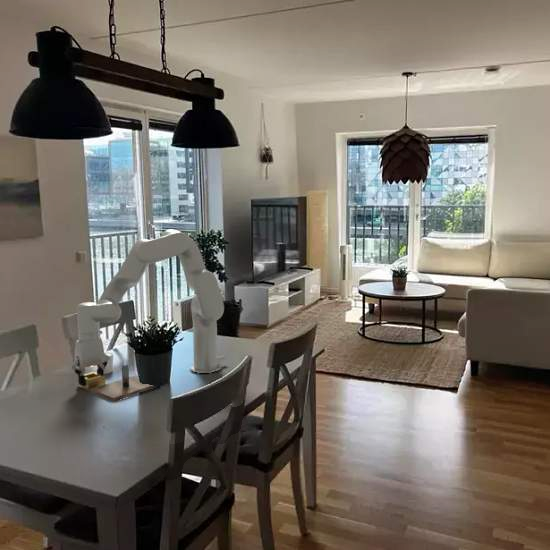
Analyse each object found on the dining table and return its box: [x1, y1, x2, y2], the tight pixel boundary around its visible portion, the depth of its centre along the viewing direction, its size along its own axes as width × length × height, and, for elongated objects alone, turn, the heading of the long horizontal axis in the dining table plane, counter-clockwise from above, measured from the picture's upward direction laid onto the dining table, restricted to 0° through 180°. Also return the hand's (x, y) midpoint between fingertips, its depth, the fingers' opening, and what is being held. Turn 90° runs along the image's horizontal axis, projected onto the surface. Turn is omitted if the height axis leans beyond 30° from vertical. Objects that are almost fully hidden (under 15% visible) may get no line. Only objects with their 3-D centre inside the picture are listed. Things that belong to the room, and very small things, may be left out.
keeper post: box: [121, 363, 130, 387], centre depth 207 cm, size 2×2×8 cm
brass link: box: [77, 371, 106, 392], centre depth 211 cm, size 7×7×4 cm
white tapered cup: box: [96, 352, 114, 375], centre depth 228 cm, size 7×7×7 cm
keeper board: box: [90, 374, 154, 403], centre depth 208 cm, size 20×14×2 cm
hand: (91, 382), depth 211 cm, fingers closed on brass link, 7 cm apart
